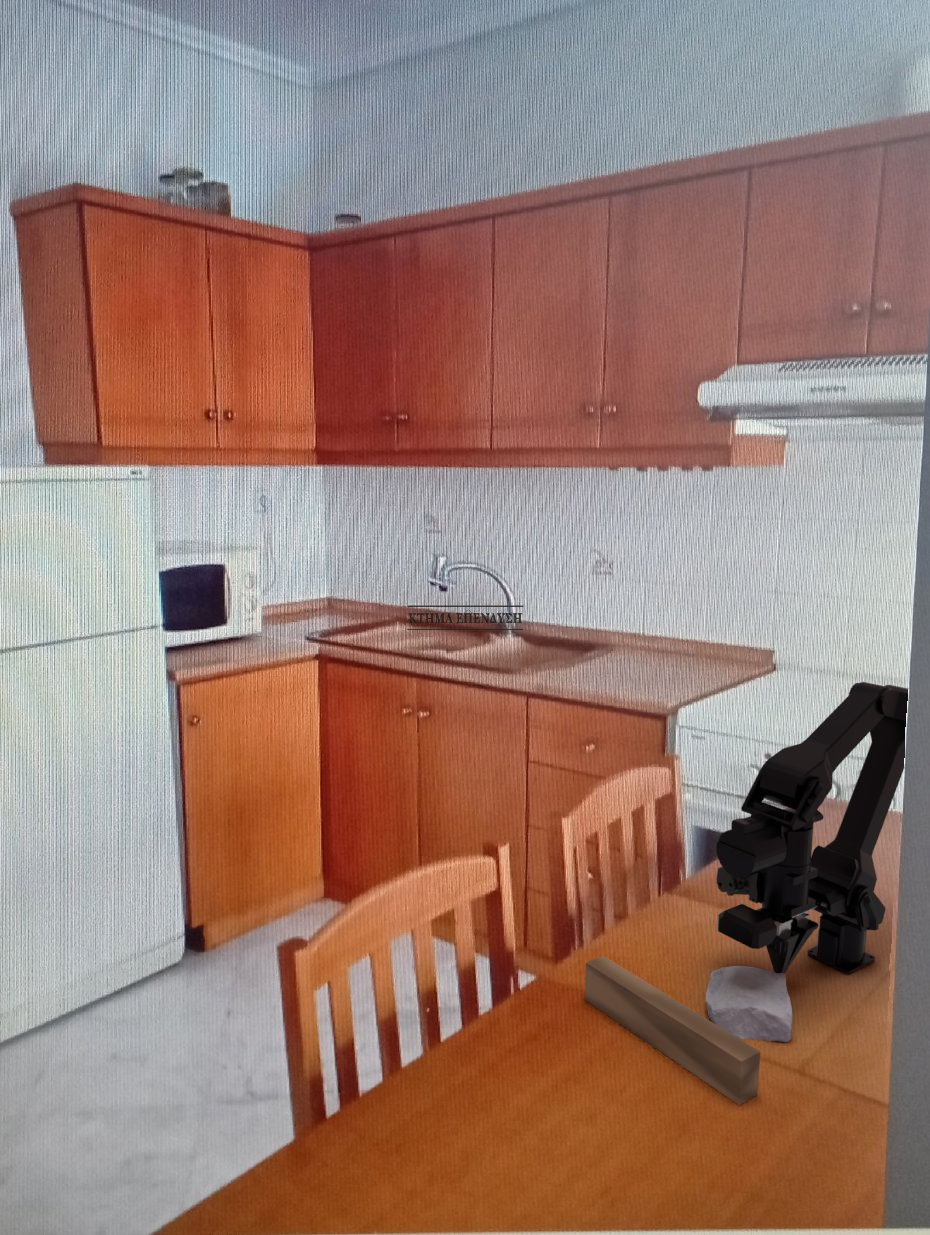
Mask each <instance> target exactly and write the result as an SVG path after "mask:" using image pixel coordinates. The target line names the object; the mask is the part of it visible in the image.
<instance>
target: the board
mask: <svg viewBox="0 0 930 1235" xmlns="http://www.w3.org/2000/svg"><path fill="white" fill-rule="evenodd" d="M584 980H585V983H584V985H585V986H584V989H585V990H584V1001H586V1002H587V1003H589V1004H590V1005H592V1006H593V1007H595V1008H596V1009H597V1010H599V1011H601V1012H602V1013H603V1014H605V1015H606V1016H607V1017H609V1018H611V1019H612V1020H614V1021H615V1022H617V1023H618V1024H620V1026H623V1027H624V1028H625V1029H627V1030H628V1031H629V1032H630V1033H633V1034H635V1035H636V1036H637V1037H638V1038H640V1039H641V1040H643V1041H644V1042H646V1043H647V1044H649V1045H651V1046H652V1047H653V1048H655V1049H656V1050H658V1052H661V1053H663V1055H665V1056H666V1057H667V1058H670V1059H671V1060H673V1061H674V1062H676V1064H678V1065H680V1066H681V1067H683V1068H684V1069H686V1070H687V1071H688V1072H690V1073H691V1074H692V1075H693V1076H696V1077H697V1078H699V1079H700V1080H702V1081H703V1082H705V1083H706V1084H707V1085H709V1086H710V1087H712V1088H713V1089H715V1090H716V1091H717V1092H719V1093H720V1094H722V1095H723V1096H725V1097H727V1099H729V1100H731V1101H732V1102H734V1103H735V1104H737V1105H738V1106H740V1105H743V1104H744V1103H745V1102H746V1103H747V1101H749V1100H751V1099H752V1098H754V1097H756V1096H758V1094H759V1091H758V1090H759V1079H760V1078H759V1077H760V1061H761V1060H760V1059H761V1051H760V1050H758V1049H757V1048H755V1047H754V1046H751V1045H750V1044H749V1043H747V1042H745V1041H743V1039H739V1038H737V1037H735V1036H734V1035H732V1034H730V1033H729V1032H727V1031H726V1030H724V1029H722V1028H721V1027H719V1026H717V1025H716V1024H714V1023H712V1021H711V1020H710V1019H708V1018H706V1017H704V1016H703V1015H701V1014H700V1013H697V1012H696V1011H694V1010H693V1009H692V1008H690V1007H688V1006H686V1005H685V1004H683V1003H681V1002H680V1001H678V1000H676V999H675V998H673V997H671V996H670V995H668V994H667V993H665V992H663V991H662V990H661V989H658V988H657V987H655V986H653V985H652V984H650V983H649V982H647V981H645V980H644V979H642V978H641V977H639V976H637V975H635V974H634V973H632V972H630V971H629V970H628V969H626V968H624V967H622V965H619V964H618V963H616V962H614V961H613V960H611V959H609V958H608V957H606V956H605V955H603V956H600V957H597V958H595V959H592V960H589V961H587V962H585V978H584Z"/></svg>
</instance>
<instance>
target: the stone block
mask: <svg viewBox="0 0 930 1235" xmlns="http://www.w3.org/2000/svg"><path fill="white" fill-rule="evenodd" d="M704 1000H705V1004H706V1010H707V1016H708V1018H709V1021H711V1022H712V1023H714V1024H716V1025H717V1026H719V1027H721V1028H722V1029H724V1030H726V1031H727V1032H729V1033H730V1034H732V1035H734V1036H735V1037H737V1038H739V1039H740V1040H752V1041H753V1040H754V1041H755V1040H760V1041H766V1042H781V1043H789V1042H790V1041H791V1039H792V1029H793V1008H792V1003H791V1002H792V1001H791V998H790V995H789V993H788V988H787V978H786V973H785V974H783V973H775V972H774V971H771V970H768V969H763V968H758V967H755V966H746V965H733V966H722V967H720V968H719V969H715V970H713V971H712V972H711V973H710V980H709V983H708V986H707V988H706V993H705V999H704Z"/></svg>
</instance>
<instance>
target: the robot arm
mask: <svg viewBox="0 0 930 1235" xmlns="http://www.w3.org/2000/svg"><path fill="white" fill-rule="evenodd" d="M908 689H909V687H903V686H897V685H893V684H885V685H882V684H881V685H880V684H875V683H871V682H866V681H861V682H856V683H855V682H854V683H853V685H852V686H851V687H850V690H849V693H848V696H847V697H846V698H845V699H844V700H843V701H842V702H840V704H839V705H838V706H837V707H836V708H835V709H834V710H833V711H831V713H830V714H829V715H828V716H827V717H826V718H825V719H824V720H823V721H822V722H821V723H820V724H819V726H818V727H816V728H815V729H814V730H813V732H812V733H811V734H809V735H808V736H807V738H806V739H805V740H803V741H802V742H801V743H798V744H794V745H791V746H786V747H783V748H782V749H780V750H779V751H778V752H776V753H775V754H774V755H772V756H770V757H769V758H768V759H767V760H766V761H765V762H764V763H763V764H762V765H761V767H760V769H759V771H758V772H757V775H756V777H755V779H754V781H753V783H752V785H751V788H750V790H749V792H748V793H747V796H746V797H745V799H744V802H743V803H742V805H741V809H740V810H741V812H744V813H747V814H749V815H750V816H747V817H743V818H740V817H739V818H736V819H732V821H731V826H730V827H731V828H730V829H728V830H725V831H724V832H722V833H721V835H720V836H719V838H718V840H717V842H716V846H715V847H716V849H715V850H716V851H715V852H716V855H717V860H718V861H719V864H720V865H721V866H720V867H718V868H717V872H716V879H715V880H716V885H717V888H718V891H720V892H721V893H726V895H727V896H728V897H732V896H734V895H738V896H739V895H741V896H742V895H744V896H745V895H746V896H748V901H750V902H752V903H754V904H760V905H761V907H760V908H757V909H754V908H752V907H750V906H747V905H746V904H744V903H740V904H738V905H736V906H732V907H730V908H728V909H724V910H723V911H722V912H720V913H718V916H717V932H719V933H721V934H723V935H725V936H726V937H729V938H731V939H733V940H734V941H736V942H739V943H740V944H742V945H744V946H746V947H748V948H751V949H754V950H759V949H762V948H764V947H766V950H767V953H768V956H769V959H770V963H771V966H772V969H773V972H775V973H783V974H785V975H786V972H788V969H789V968H790V966H791V964H792V963H793V962H794V960H795V958H796V957H797V955H798V954H799V952H800V951H801V949H802V948H803V946H804V945H805V943H807V941H808V940H809V938H810V936H812V934H813V933H814V931H815V930H817V929H818V930H817V945H816V946H814V947H812V948H810V949H808V950H807V953H806V954H807V955H808V956H810V957H812V958H813V959H815V960H818V961H820V962H821V963H824V964H826V965H828V966H831V967H832V968H834V969H836V970H838V971H840V972H843V973H845V974H852V973H854V972H856V971H858V970H860V969H862V968H864V967H866V966H869V965H871V963H874V962H875V961H876V956H874V955H872V954H870V953H868V952H866V944H867V931H879V926H880V925H881V924H882V923H883V920H884V919H885V914H886V913H885V912H886V907H885V905H884V904H883V902H882V901H881V900H880V898H879V897H878V896H877V895H876V893H875V888H876V884H877V880H878V877H877V873H876V869H875V868H876V867H875V863H874V860H873V854H874V851H875V847H876V845H877V842H878V840H879V837H880V834H881V832H882V829H883V827H884V824H885V821H886V819H887V815H888V812H889V810H890V807H891V805H892V802H893V799H894V796H895V794H896V791H897V788H898V785H899V782H900V780H901V777H902V775H903V774H904V769H905V767H904V758H905V727H906V713H907V701H908ZM868 734H869V736H870V740H871V743H870V745H869V749H868V751H867V753H866V757H865V758H864V762H863V765H862V767H861V770H860V772H859V775H858V776H857V780H856V783H855V786H854V788H853V790H852V793H851V795H850V799H849V801H848V804H847V806H846V809H845V812H844V813H843V817H842V820H841V823H840V825H839V827H838V829H837V830H838V831H837V833H836V835H835V837H834V839H832V841H831V842H830V843H828V844H826V845H825V846H824V847H823V846H822V845H817V846H816V847H815V848H814V849H813V839H814V838H813V836H814V824H815V823H817V822H820V821H822V820H824V814H823V813H822V812H821V811H820V810H818V809H819V807H820V806H821V805H822V804H823V803H824V801H825V799H826V798H827V796H828V795H829V793H830V792H831V791H832V789H833V780H834V778H833V776H834V775H833V774H834V772H835V770H837V768H838V767H839V765H841V763H842V762H843V761H844V760H845V759H846V758H847V757H848V756H849V755H850V753H852V751H853V750H854V749H855V748H856V747H857V746H858V745H859V744H860V743H861V742H862V741H863V740H864V739H865V737H867V735H868ZM764 799H765V800H766V801H768V802H772V803H773V804H777V805H780V806H783V807H786V808H780V807H777V806H775V805H771V804H768V803H766V802H763V801H764ZM809 911H815V912H816V913H817V912H818V913H819V914H821V915H820V916H819V923H818V922H816V921H814V920H812V919H810V914H809V913H808V912H809Z"/></svg>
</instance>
